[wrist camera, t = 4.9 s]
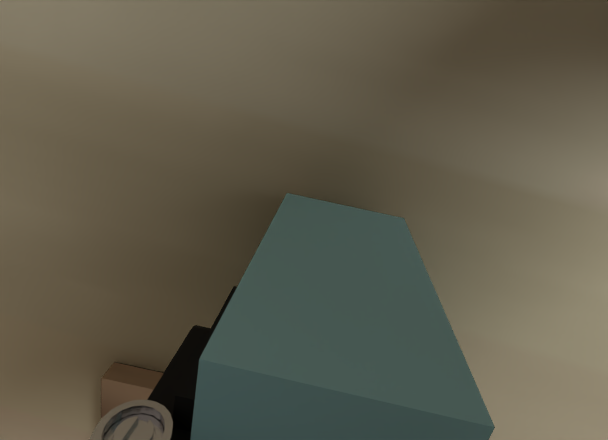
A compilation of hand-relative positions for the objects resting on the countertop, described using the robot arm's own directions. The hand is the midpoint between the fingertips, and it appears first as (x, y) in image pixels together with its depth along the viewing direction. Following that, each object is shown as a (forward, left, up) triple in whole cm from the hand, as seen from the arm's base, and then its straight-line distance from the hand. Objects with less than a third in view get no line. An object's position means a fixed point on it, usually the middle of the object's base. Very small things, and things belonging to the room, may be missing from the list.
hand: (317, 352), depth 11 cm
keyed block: (0, 0, -3) cm, 3 cm away
